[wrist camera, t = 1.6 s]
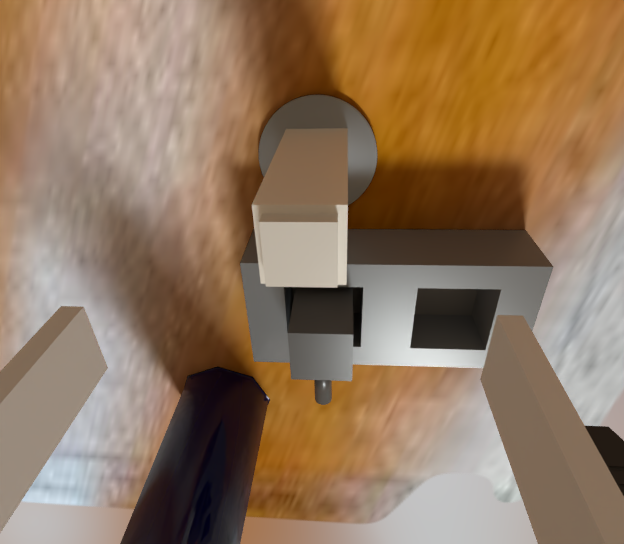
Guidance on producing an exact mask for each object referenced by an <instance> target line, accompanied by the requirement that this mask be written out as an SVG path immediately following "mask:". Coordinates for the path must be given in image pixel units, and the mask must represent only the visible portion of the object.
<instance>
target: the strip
mask: <svg viewBox="0 0 624 544" xmlns="http://www.w3.org/2000/svg"><path fill="white" fill-rule="evenodd" d="M240 266H241V273H242V280H243V287H244V294H245V301H246V308H247V315H248V322H249V329H250V336H251V343H252V350H253V357H254V361H258V362H290V369H291V379H304V380H315V400H316V402H317V403H319V404H322V405H325V404H328V403H329V402H330V401H331V399H332V389H331V380H336V381H352V365H353V364H361V365H396V366H430V367H465V368H484V364H485V360H486V356H487V352H488V348H489V345H490V341H491V337H492V333H493V329H494V325H495V321H496V318H497V315H517V316H524V318H525V320H526V322H527V323H528V325H529V327H530V329H531V331H532V330H533V327H534V324H535V321H536V318H537V315H538V312H539V309H540V306H541V303H542V300H543V296H544V293H545V290H546V287H547V284H548V281H549V278H550V275H551V272H552V269H553V266H552V264H551V263H550V262H549V260H548V259H547V258H546V257H545V255H544V254H543V253H542V251H541V250H540V249H539V247H538V246H537V245H536V243H535V242H534V241H533V239H532V238H531V237H530V235H529V234H528V233H527V231H526V230H429V229H347V283H346V285H338V287H337V288H323V287H266V284H261V281H260V273H259V264H258V255H257V247H256V238H255V229H253V232H252V234H251V237H250V239H249V242H248V244H247V247H246V250H245V252H244V255H243V257H242V260H241V262H240Z"/></svg>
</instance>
